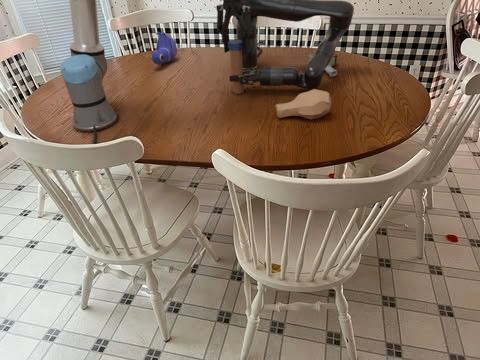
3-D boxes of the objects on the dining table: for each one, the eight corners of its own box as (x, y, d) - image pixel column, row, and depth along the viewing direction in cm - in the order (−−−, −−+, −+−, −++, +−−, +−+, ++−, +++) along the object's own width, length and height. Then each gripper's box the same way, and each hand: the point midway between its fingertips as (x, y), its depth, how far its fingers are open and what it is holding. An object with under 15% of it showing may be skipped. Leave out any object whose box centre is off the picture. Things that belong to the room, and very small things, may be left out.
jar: (244, 93, 148) (241, 44, 137) (233, 94, 148) (229, 45, 137) (243, 89, 152) (240, 41, 141) (232, 90, 152) (228, 42, 140)
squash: (335, 120, 125) (335, 98, 118) (278, 130, 127) (276, 109, 120) (328, 102, 132) (328, 81, 126) (275, 112, 134) (272, 92, 128)
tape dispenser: (333, 81, 157) (348, 64, 170) (335, 70, 154) (350, 54, 166) (297, 74, 164) (314, 58, 177) (297, 63, 161) (315, 47, 174)
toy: (165, 64, 197) (145, 70, 175) (161, 31, 190) (139, 33, 168) (182, 63, 195) (163, 69, 172) (178, 30, 188) (158, 32, 166)
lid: (240, 45, 142) (240, 38, 141) (244, 48, 138) (244, 42, 137) (226, 47, 141) (226, 40, 140) (230, 50, 137) (230, 44, 135)
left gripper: (202, -12, 129) (209, 52, 143) (251, -10, 120) (253, 58, 134) (214, -15, 134) (219, 47, 148) (262, -13, 125) (263, 52, 139)
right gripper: (270, 92, 141) (228, 91, 143) (273, 78, 152) (234, 78, 155) (270, 73, 136) (226, 73, 139) (273, 61, 148) (233, 61, 150)
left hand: (235, 52), depth 141 cm, fingers open, 8 cm apart
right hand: (231, 76), depth 147 cm, fingers closed on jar, 4 cm apart
